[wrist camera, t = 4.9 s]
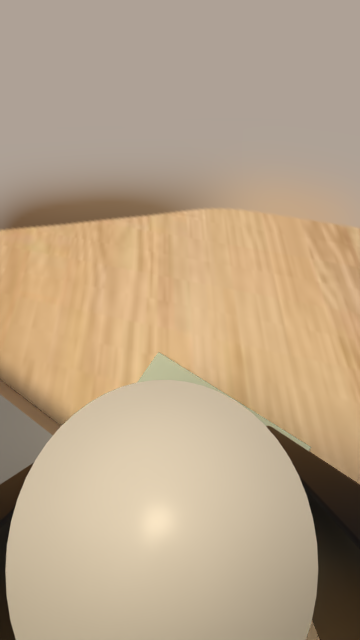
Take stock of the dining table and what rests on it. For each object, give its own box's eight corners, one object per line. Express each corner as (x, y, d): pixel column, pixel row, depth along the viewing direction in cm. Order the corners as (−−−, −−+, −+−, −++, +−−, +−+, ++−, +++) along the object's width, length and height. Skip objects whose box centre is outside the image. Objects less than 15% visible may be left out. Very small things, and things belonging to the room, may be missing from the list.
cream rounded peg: (248, 461, 15) (365, 482, 5) (198, 559, 13) (214, 882, 3) (169, 408, 16) (129, 334, 6) (115, 493, 15) (-60, 585, 4)
